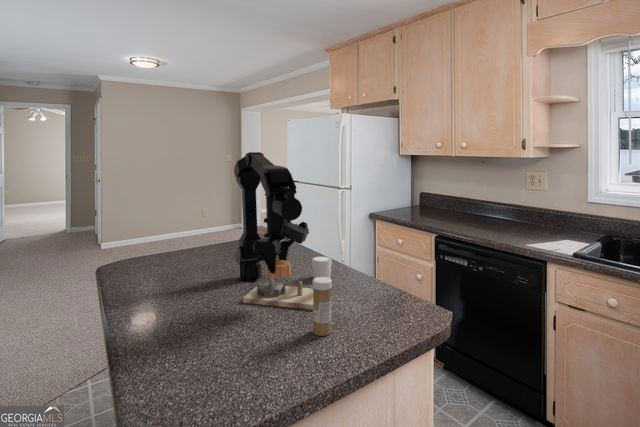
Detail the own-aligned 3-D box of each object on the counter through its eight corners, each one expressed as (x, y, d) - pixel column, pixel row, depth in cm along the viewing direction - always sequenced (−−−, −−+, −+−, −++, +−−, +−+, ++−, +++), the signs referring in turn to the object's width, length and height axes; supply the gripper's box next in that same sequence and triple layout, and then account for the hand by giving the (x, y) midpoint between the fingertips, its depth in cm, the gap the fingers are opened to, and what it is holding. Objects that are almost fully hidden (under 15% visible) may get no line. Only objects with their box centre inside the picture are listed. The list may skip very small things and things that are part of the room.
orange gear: (261, 276, 104) (261, 265, 103) (271, 268, 110) (271, 258, 110) (285, 278, 102) (285, 268, 101) (294, 270, 108) (294, 260, 108)
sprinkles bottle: (311, 328, 94) (311, 276, 92) (329, 327, 95) (329, 275, 92) (314, 337, 89) (314, 283, 87) (333, 335, 90) (333, 281, 88)
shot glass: (330, 282, 127) (329, 262, 126) (310, 281, 128) (309, 261, 127) (333, 275, 133) (333, 256, 132) (314, 274, 135) (314, 255, 134)
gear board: (242, 302, 110) (242, 284, 109) (259, 288, 122) (259, 271, 121) (315, 310, 105) (315, 291, 104) (326, 294, 116) (326, 277, 115)
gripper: (292, 222, 92) (293, 283, 95) (315, 210, 110) (315, 262, 112) (251, 219, 95) (253, 279, 98) (279, 208, 113) (280, 259, 115)
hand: (278, 269), depth 106 cm, fingers closed on orange gear, 7 cm apart
